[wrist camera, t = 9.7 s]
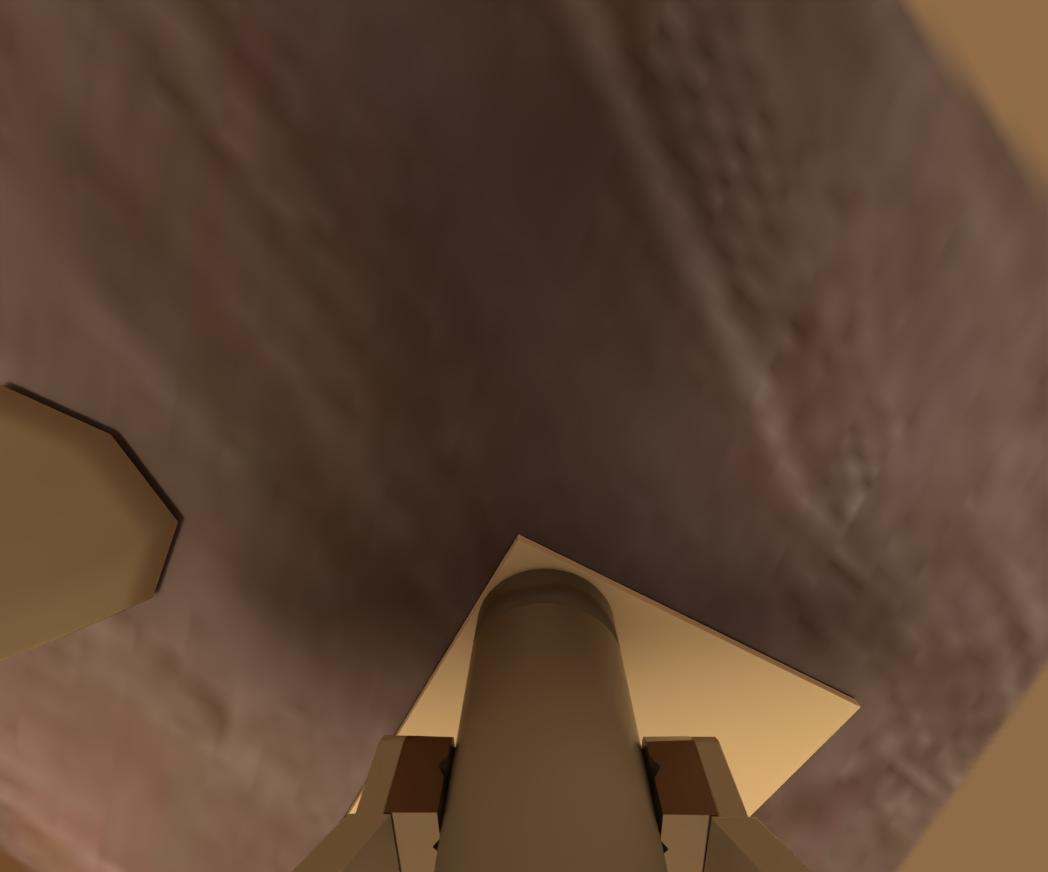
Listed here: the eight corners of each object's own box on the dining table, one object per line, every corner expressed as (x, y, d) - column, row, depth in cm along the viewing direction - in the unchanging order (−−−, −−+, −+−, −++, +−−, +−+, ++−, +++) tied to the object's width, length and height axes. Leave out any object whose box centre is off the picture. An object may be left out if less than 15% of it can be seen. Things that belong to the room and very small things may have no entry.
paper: (518, 534, 14) (518, 539, 14) (854, 699, 16) (860, 706, 15) (282, 918, 20) (278, 927, 20) (544, 1009, 22) (544, 1019, 21)
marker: (517, 545, 14) (483, 1004, 5) (641, 606, 14) (793, 1113, 6) (453, 648, 15) (341, 1158, 6) (570, 700, 15) (609, 1235, 7)
